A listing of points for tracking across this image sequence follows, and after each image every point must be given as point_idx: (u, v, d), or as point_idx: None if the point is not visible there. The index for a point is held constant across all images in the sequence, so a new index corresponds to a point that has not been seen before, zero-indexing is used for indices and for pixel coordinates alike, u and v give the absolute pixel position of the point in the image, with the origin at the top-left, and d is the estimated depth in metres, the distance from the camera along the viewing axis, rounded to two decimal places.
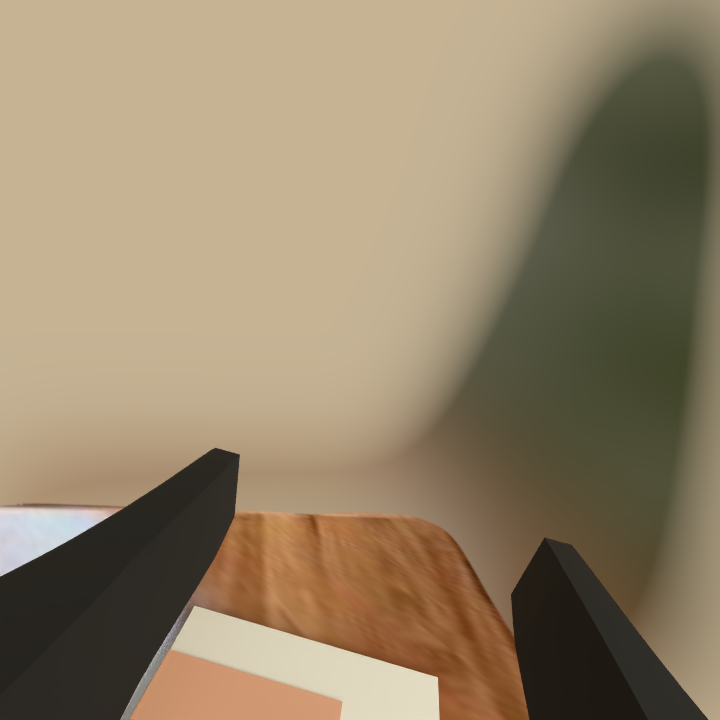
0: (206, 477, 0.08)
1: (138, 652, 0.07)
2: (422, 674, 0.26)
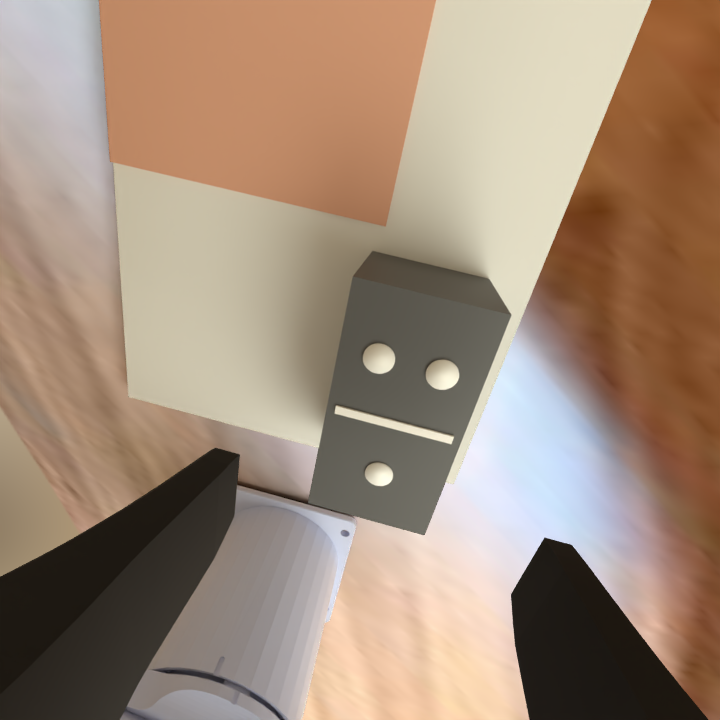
0: (206, 477, 0.08)
1: (138, 652, 0.07)
2: None
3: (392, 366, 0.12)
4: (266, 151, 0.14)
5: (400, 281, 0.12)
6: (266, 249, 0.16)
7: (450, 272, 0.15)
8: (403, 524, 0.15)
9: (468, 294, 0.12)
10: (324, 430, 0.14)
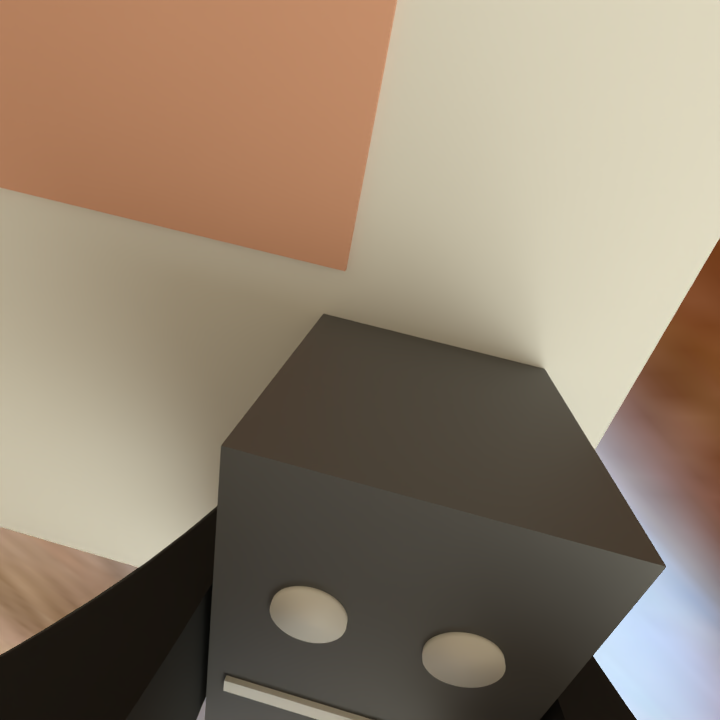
0: None
1: (206, 672, 0.07)
2: None
3: (342, 633, 0.05)
4: (103, 123, 0.07)
5: (357, 437, 0.05)
6: (134, 305, 0.09)
7: (471, 361, 0.08)
8: None
9: (526, 459, 0.05)
10: (210, 707, 0.07)
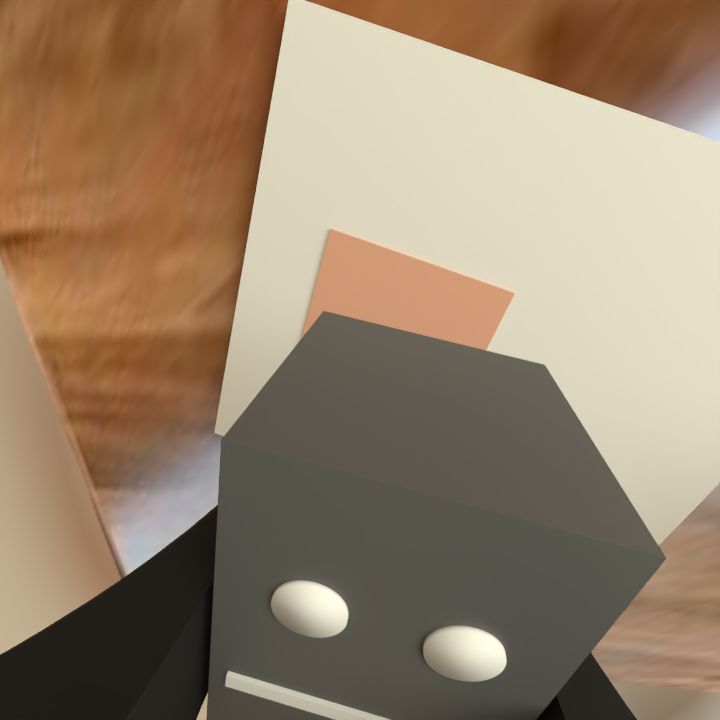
0: None
1: (205, 672, 0.07)
2: (284, 36, 0.12)
3: (344, 627, 0.05)
4: None
5: (358, 430, 0.05)
6: None
7: (471, 357, 0.08)
8: None
9: (526, 453, 0.05)
10: (212, 703, 0.07)
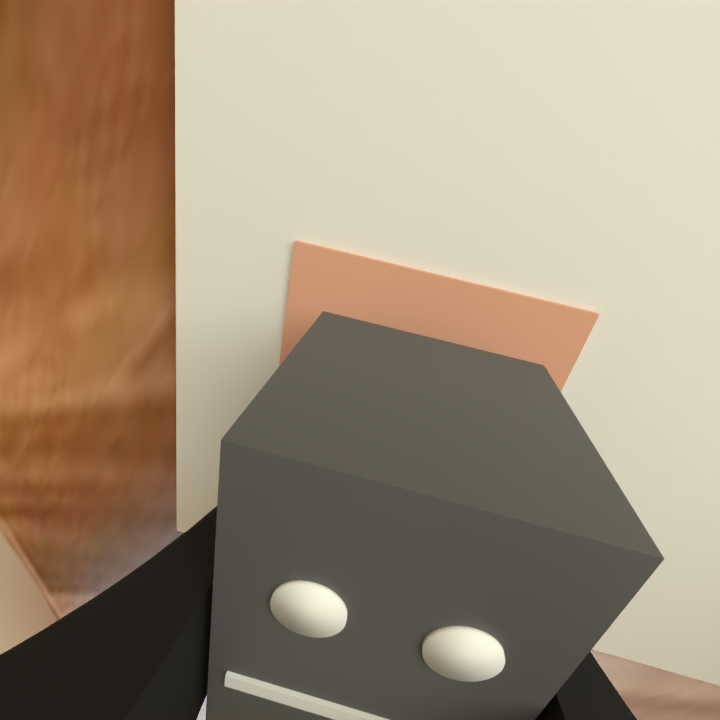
0: None
1: (205, 673, 0.07)
2: None
3: (342, 628, 0.05)
4: None
5: (356, 431, 0.05)
6: None
7: (471, 358, 0.08)
8: None
9: (525, 454, 0.05)
10: (211, 703, 0.07)
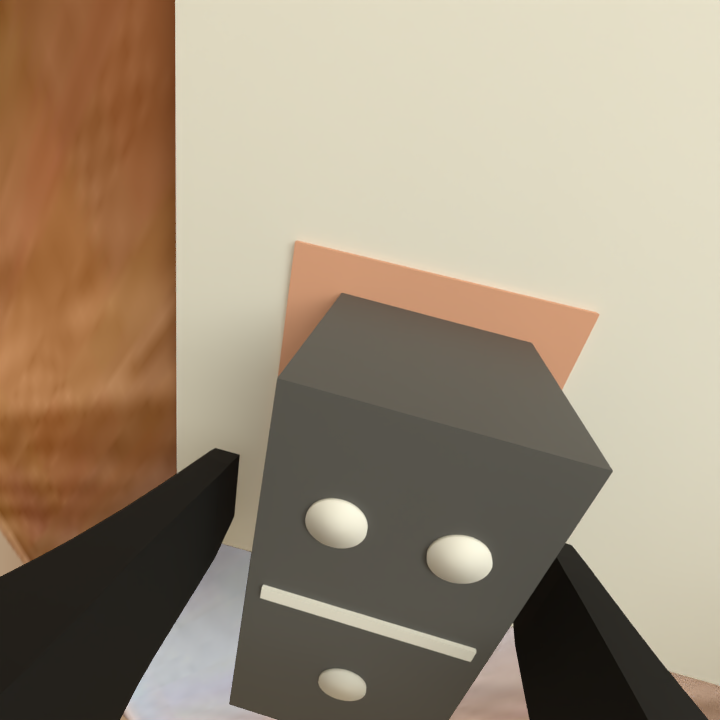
0: (206, 477, 0.08)
1: (138, 652, 0.07)
2: None
3: (363, 539, 0.06)
4: None
5: (379, 379, 0.06)
6: None
7: (469, 334, 0.09)
8: None
9: (511, 402, 0.06)
10: (246, 617, 0.08)
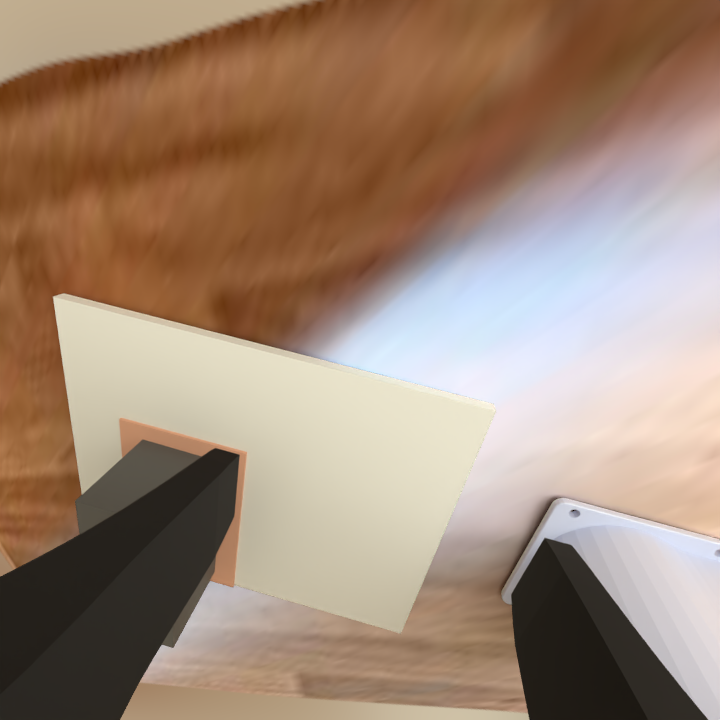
0: (206, 477, 0.08)
1: (138, 652, 0.07)
2: (58, 314, 0.19)
3: None
4: None
5: (116, 497, 0.18)
6: (273, 522, 0.22)
7: (191, 461, 0.20)
8: None
9: None
10: None
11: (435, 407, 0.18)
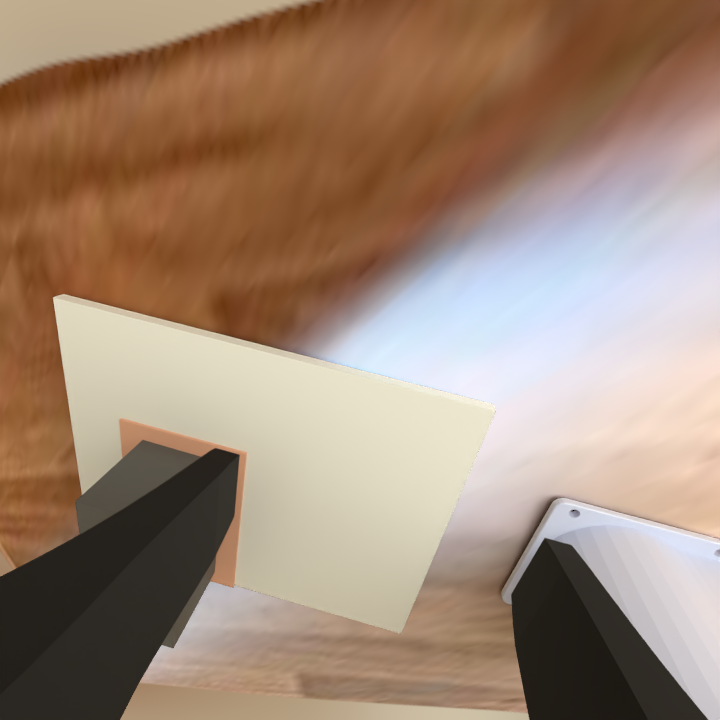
0: (206, 477, 0.08)
1: (138, 652, 0.07)
2: (58, 315, 0.19)
3: None
4: None
5: (116, 497, 0.18)
6: (273, 522, 0.22)
7: (191, 462, 0.21)
8: None
9: None
10: None
11: (435, 407, 0.18)
